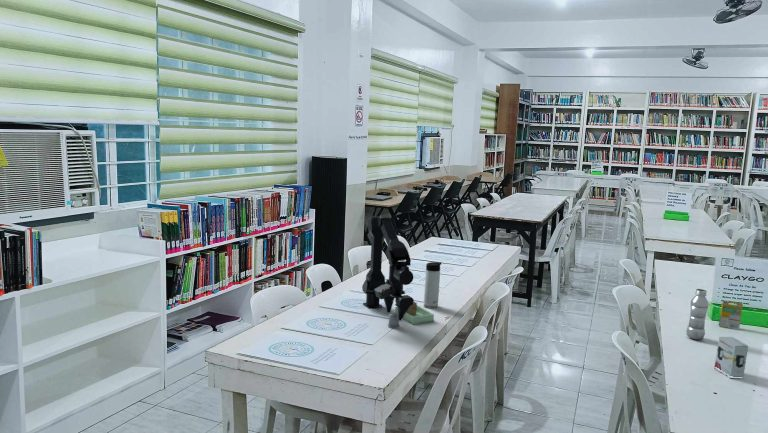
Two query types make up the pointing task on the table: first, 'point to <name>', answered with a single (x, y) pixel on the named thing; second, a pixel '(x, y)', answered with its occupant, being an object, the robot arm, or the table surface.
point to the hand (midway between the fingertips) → (394, 316)
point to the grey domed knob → (393, 320)
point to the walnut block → (412, 309)
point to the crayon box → (730, 315)
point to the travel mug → (432, 285)
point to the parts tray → (418, 316)
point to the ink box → (731, 356)
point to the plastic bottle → (698, 315)
